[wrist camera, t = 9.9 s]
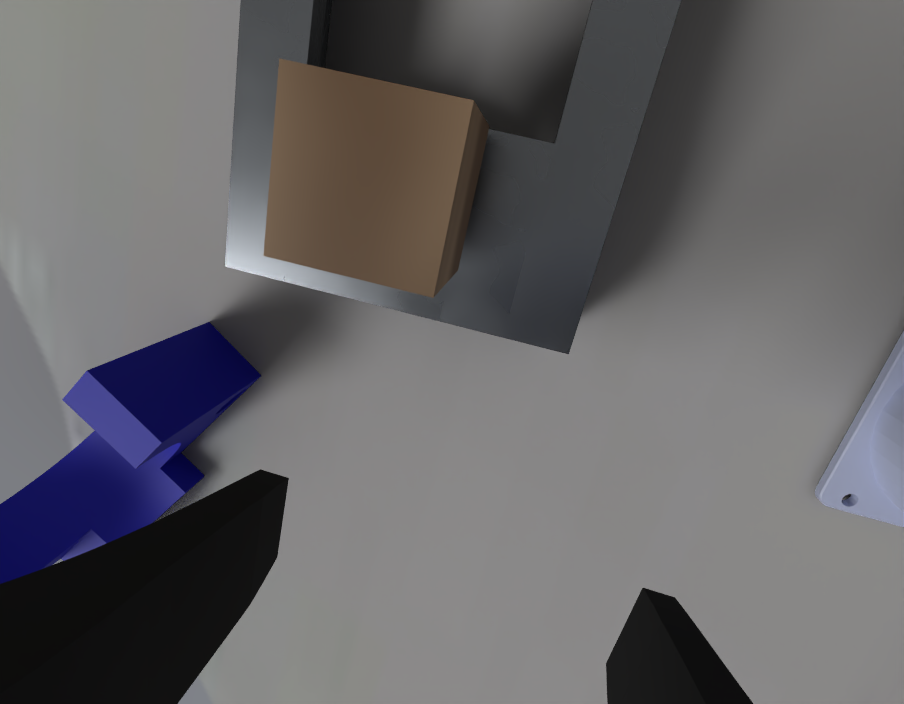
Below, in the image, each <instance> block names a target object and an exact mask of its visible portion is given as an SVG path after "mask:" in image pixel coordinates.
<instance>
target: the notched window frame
mask: <svg viewBox="0 0 904 704" xmlns="http://www.w3.org/2000/svg"><path fill="white" fill-rule="evenodd" d="M680 3H681V0H593V1H592V4H591V8H590V12H589V16H588V19H587V23H586V27H585V31H584V34H583V38H582V42H581V46H580V50H579V53H578V57H577V61H576V65H575V68H574V72H573V76H572V80H571V83H570V87H569V91H568V95H567V98H566V102H565V106H564V110H563V113H562V117H561V121H560V125H559V128H558V132H557V136H556V140H555V143H550V142H545V141H541V140H537V139H532V138H528V137H523V136H519V135H514V134H510V133H505V132H501V131H496V130H492V129H489V131H488V135H487V140H486V145H485V149H484V154H483V158H482V163H481V167H480V172H479V177H478V181H477V186H476V190H475V195H474V199H473V204H472V209H471V213H470V218H469V222H468V227H467V231H466V236H465V241H464V245H463V250H462V254H461V259H460V263H459V268H458V271H457V272H456V273H455V274H454V275H453V277H452V278H451V279H450V280H449V281H448V282H447V283H446V284H445V285H444V287H443V288H442V289H441V290H440V291H439V292H438V293H437V294H436V295H435V297H434V298H432V297H428V296H424V295H420V294H416V293H411V292H407V291H403V290H399V289H395V288H391V287H387V286H383V285H379V284H375V283H371V282H367V281H363V280H359V279H355V278H351V277H347V276H343V275H339V274H335V273H330V272H326V271H322V270H318V269H314V268H310V267H306V266H302V265H298V264H294V263H290V262H286V261H282V260H278V259H274V258H270V257H266V256H263V255H264V242H265V230H266V217H267V205H268V193H269V180H270V168H271V155H272V143H273V130H274V118H275V106H276V93H277V81H278V68H279V58H280V59H284V60H289V61H294V62H298V63H303V64H308V65H312V66H317V67H322V68H324V66H325V57H326V48H327V39H328V30H329V21H330V13H331V4H332V0H241V5H240V22H239V39H238V56H237V73H236V90H235V107H234V123H233V140H232V157H231V174H230V191H229V208H228V225H227V242H226V259H225V267H229V268H233V269H237V270H241V271H245V272H249V273H253V274H256V275H260V276H264V277H268V278H272V279H276V280H280V281H284V282H288V283H292V284H296V285H300V286H303V287H307V288H311V289H315V290H319V291H323V292H327V293H331V294H335V295H339V296H343V297H347V298H350V299H354V300H358V301H362V302H366V303H370V304H374V305H378V306H382V307H386V308H390V309H394V310H397V311H401V312H405V313H409V314H413V315H417V316H421V317H425V318H429V319H433V320H437V321H440V322H444V323H448V324H452V325H456V326H460V327H464V328H468V329H472V330H476V331H480V332H484V333H487V334H491V335H495V336H499V337H503V338H507V339H511V340H515V341H519V342H523V343H527V344H531V345H534V346H538V347H542V348H546V349H550V350H554V351H558V352H562V353H566V354H569V351H570V348H571V345H572V342H573V339H574V336H575V333H576V329H577V326H578V323H579V320H580V317H581V314H582V311H583V307H584V304H585V301H586V298H587V295H588V292H589V289H590V285H591V282H592V279H593V276H594V273H595V270H596V267H597V264H598V260H599V257H600V254H601V251H602V248H603V245H604V242H605V238H606V235H607V232H608V229H609V226H610V223H611V220H612V217H613V213H614V210H615V207H616V204H617V201H618V198H619V195H620V191H621V188H622V185H623V182H624V179H625V176H626V173H627V169H628V166H629V163H630V160H631V157H632V154H633V151H634V148H635V144H636V141H637V138H638V135H639V132H640V129H641V126H642V122H643V119H644V116H645V113H646V110H647V107H648V104H649V100H650V97H651V94H652V91H653V88H654V85H655V82H656V79H657V75H658V72H659V69H660V66H661V63H662V60H663V57H664V53H665V50H666V47H667V44H668V41H669V38H670V35H671V31H672V28H673V25H674V22H675V19H676V16H677V13H678V10H679V6H680Z"/></svg>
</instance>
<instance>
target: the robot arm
mask: <svg viewBox="0 0 904 704" xmlns="http://www.w3.org/2000/svg"><path fill="white" fill-rule="evenodd" d="M288 479H289V478H286V477H283V476H280V475H277V474H273V473H270V472H267V471H264V470H259V471H256V472H254V473H252V474H250V475H248V476H246V477H244V478H242V479H240V480H238V481H236V482H234V483H232V484H230V485H228V486H226V487H224V488H223V489H221V490H219V491H217V492H215V493H213V494H211V495H209V496H207V497H205V498H203V499H201V500H199V501H197V502H195V503H193V504H191V505H189V506H187V507H185V508H183V509H181V510H179V511H176V512H174V513H172V514H170V515H168V516H166V517H164V518H162V519H160V520H158V521H156V522H154V523H151V524H149V525H147V526H145V527H142V528H140V529H138V530H136V531H133V532H131V533H129V534H127V535H124V536H122V537H120V538H117V539H115V540H113V541H111V542H108V543H106V544H104V545H102V546H99V547H97V548H95V549H92V550H90V551H87V552H85V553H82V554H80V555H78V556H75V557H72V558H70V559H67V560H65V561H62V562H60V563H57V564H54V565H52V566H49V567H46V568H43V569H41V570H38V571H35V572H32V573H30V574H27V575H24V576H21V577H19V578H16V579H13V580H10V581H7V582H4V583H1V584H0V704H178V702H179V701H180V699H181V698H182V697H183V695H184V694H185V693H186V691H187V690H188V689H189V687H190V686H191V684H192V683H193V682H194V681H195V679H196V678H197V676H198V675H199V674H200V672H201V671H202V670H203V668H204V667H205V666H206V664H207V663H208V662H209V660H210V659H211V657H212V656H213V655H214V653H215V652H216V651H217V649H218V648H219V647H220V645H221V644H222V643H223V641H224V640H225V638H226V637H227V636H228V634H229V633H230V632H231V630H232V629H233V627H234V626H235V625H236V623H237V622H238V621H239V619H240V618H241V616H242V615H243V614H244V612H245V611H246V609H247V608H248V607H249V605H250V604H251V602H252V600H253V599H254V597H255V595H256V593H257V592H258V590H259V588H260V587H261V585H262V583H263V582H264V580H265V578H266V576H267V574H268V573H269V571H270V569H271V567H272V566H273V564H274V562H275V560H276V558H277V555H278V548H279V541H280V534H281V527H282V520H283V514H284V507H285V500H286V493H287V486H288ZM848 494H851V496H850V497H849V498H848V499H846V500H842V498H843V497H844V496H845V495H848ZM815 495H816V497H817V498H818V499H819V500H820V501H821V503H822V504H823V505H825V506H827V507H830V508H834V509H838V510H842V511H845V512H849V513H853V514H856V515H860V516H864V517H868V518H871V519H875V520H879V521H883V522H886V523H890V524H894V525H897V526H901V527H904V331H903V333H902V334H901V336H900V338H899V340H898V342H897V343H896V345H895V347H894V349H893V351H892V352H891V354H890V356H889V358H888V359H887V361H886V363H885V365H884V367H883V368H882V370H881V372H880V374H879V376H878V377H877V379H876V381H875V383H874V385H873V386H872V388H871V390H870V392H869V393H868V395H867V397H866V399H865V401H864V402H863V404H862V406H861V408H860V410H859V411H858V413H857V415H856V417H855V419H854V420H853V422H852V424H851V426H850V427H849V429H848V431H847V433H846V435H845V436H844V438H843V440H842V442H841V444H840V445H839V447H838V449H837V451H836V453H835V454H834V456H833V458H832V460H831V461H830V463H829V465H828V467H827V469H826V470H825V472H824V474H823V476H822V478H821V479H820V481H819V483H818V485H817V487H816V489H815ZM606 672H607V699H608V704H753V703H752V701H751V700H750V699H749V697H748V696H747V695H746V693H745V692H744V691H743V689H742V688H741V687H740V685H739V684H738V682H737V681H736V680H735V678H734V677H733V676H732V674H731V673H730V672H729V670H728V669H727V667H726V666H725V665H724V663H723V662H722V661H721V659H720V658H719V656H718V655H717V654H716V652H715V651H714V650H713V648H712V647H711V645H710V644H709V643H708V641H707V640H706V639H705V637H704V636H703V634H702V633H701V632H700V630H699V629H698V628H697V626H696V625H695V623H694V622H693V621H692V619H691V618H690V617H689V615H688V614H687V613H686V611H685V610H684V609H683V607H682V606H681V605H680V604H679V602H678V601H677V600H676V599H675V597H671V596H668V595H665V594H662V593H658V592H655V591H652V590H649V589H645V588H642V590H641V592H640V595H639V597H638V599H637V601H636V603H635V605H634V607H633V609H632V611H631V613H630V615H629V617H628V619H627V621H626V623H625V626H624V628H623V630H622V632H621V634H620V636H619V638H618V640H617V642H616V644H615V646H614V648H613V650H612V652H611V654H610V656H609V659H608V661H607V663H606Z"/></svg>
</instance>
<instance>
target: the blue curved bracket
mask: <svg viewBox="0 0 904 704" xmlns="http://www.w3.org/2000/svg"><path fill="white" fill-rule="evenodd" d="M260 376H261V375H260V374H259V373H258V372H257V371H256V370H255V369H254V368H253V367H252V365H251V364H250V363H249V362H248V361H247V360H246V359H245V358H244V357H243V356H242V355H241V354H240V353H239V352H238V351H237V350H236V349H235V348H234V347H233V346H232V345H231V344H230V343H229V342H228V341H227V340H226V339H225V338H224V337H223V336H222V335H221V334H220V333H219V332H218V331H217V330H216V329H215V328H214V326H213V325H212V324H211V323H210V322H208V323H205V324H203V325H200V326H198V327H195V328H193V329H190V330H188V331H185V332H183V333H180V334H178V335H175V336H173V337H170V338H168V339H165V340H163V341H160V342H158V343H155V344H153V345H150V346H148V347H145V348H143V349H140V350H138V351H135V352H133V353H130V354H128V355H125V356H123V357H120V358H118V359H115V360H113V361H110V362H107V363H105V364H102V365H100V366H97V367H95V368H92V369H90V370H87V371H86V372H85V374H84V375H83V376H82V377H81V378H80V379H79V381H78V382H77V383H76V384H75V385H74V386H73V388H72V389H71V390H70V391H69V392H68V394H67V395H66V396H65V397H64V398H63V399H62V400H63V401H64V402H65V403H66V404H67V405H69V406H70V407H71V408H72V409H73V410H74V411H75V412H76V413H77V414H78V415H79V416H80V417H81V418H82V419H83V420H84V421H85V422H87V423H88V424H89V425H90V426H91V427H92V428H93V429H94V430H95V431H94V432H93V433H92V434H91V435H90V436H88V437H87V438H86V439H85V440H84V441H83V442H82V443H81V444H79V445H78V446H77V447H76V448H75V449H74V450H72V451H71V452H70V453H69V454H68V455H66V456H65V457H64V458H63V459H61V460H60V461H59V462H58V463H56V464H55V465H54V466H53V467H51V468H50V469H49V470H47V471H46V472H45V473H43V474H42V475H41V476H39V477H38V478H37V479H35V480H34V481H33V482H31V483H30V484H29V485H27V486H26V487H24V488H23V489H22V490H20V491H19V492H17V493H16V494H15V495H13V496H12V497H10V498H9V499H7V500H6V501H4V502H3V503H1V504H0V584H1V583H4V582H7V581H10V580H13V579H16V578H19V577H21V576H24V575H27V574H30V573H32V572H35V571H38V570H41V569H43V568H46V567H49V566H52V565H53V564H54V563H55V562H57V561H58V560H59V559H62V560H63V561H65V560H67V559H70V558H72V557H75V556H78V555H80V554H82V553H85V552H87V551H90V550H92V549H95V548H97V547H99V546H102V545H104V544H106V543H108V542H111V541H113V540H115V539H117V538H120V537H122V536H124V535H127V534H129V533H131V532H133V531H136V530H138V529H140V528H142V527H145V526H147V525H149V524H151V523H153V522H155V521H156V520H157V519H158V518H159V517H160V516H161V515H162V514H163V513H164V512H166V511H167V510H168V509H169V508H170V507H171V506H172V505H173V504H174V503H176V502H177V501H178V500H179V499H180V498H181V497H182V496H183V495H184V494H185V493H187V492H188V491H189V490H190V489H191V488H192V487H193V486H194V485H195V484H196V483H198V482H199V481H200V480H201V479H202V478H203V477H204V475H203V474H202V473H201V472H200V471H199V470H198V469H197V468H196V467H195V466H194V465H193V464H192V463H191V462H190V461H189V460H188V459H187V458H186V457H185V456H184V455H183V454H182V453H181V452H182V451H183V450H184V449H185V448H186V447H187V446H188V445H189V444H191V443H192V442H193V441H194V440H195V439H196V438H197V437H198V436H199V435H200V434H201V433H202V432H203V431H204V430H205V429H206V428H207V427H208V426H209V425H210V424H211V423H212V422H214V421H215V420H216V419H217V418H218V417H219V416H220V415H221V414H222V413H223V412H224V411H225V410H226V409H227V408H228V407H229V406H230V405H231V404H232V403H233V402H234V401H235V400H236V399H238V398H239V397H240V396H241V395H242V394H243V393H244V392H245V391H246V390H247V389H248V388H249V387H250V386H251V385H252V384H253V383H254V382H255V381H256V380H257V379H258V378H259V377H260Z"/></svg>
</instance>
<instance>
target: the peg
mask: <svg viewBox="0 0 904 704" xmlns="http://www.w3.org/2000/svg"><path fill="white" fill-rule="evenodd" d="M488 131H489V125H488V123H487V121H486V120H485V118H484V116H483V115H482V113H481V111H480V110H479V108H478V106H477V105H476V103H475V101H474V100H470V99H465V98H461V97H456V96H451V95H447V94H442V93H437V92H433V91H428V90H424V89H419V88H414V87H410V86H405V85H400V84H396V83H391V82H386V81H382V80H377V79H373V78H368V77H363V76H359V75H354V74H349V73H345V72H340V71H335V70H331V69H326V68H322V67H317V66H312V65H308V64H303V63H298V62H294V61H289V60H284V59H280V58H279V68H278V81H277V93H276V106H275V118H274V130H273V143H272V155H271V168H270V180H269V193H268V205H267V217H266V230H265V242H264V255H263V256H266V257H270V258H274V259H278V260H282V261H286V262H290V263H294V264H298V265H302V266H306V267H310V268H314V269H318V270H322V271H326V272H330V273H335V274H339V275H343V276H347V277H351V278H355V279H359V280H363V281H367V282H371V283H375V284H379V285H383V286H387V287H391V288H395V289H399V290H403V291H407V292H411V293H416V294H420V295H424V296H428V297H432V298H434V297H435V295H436V294H437V293H438V292H439V291H440V290H441V289H442V288H443V287H444V285H445V284H446V283H447V282H448V281H449V280H450V279H451V278H452V277H453V275H454V274H455V273H456V272H457V271H458V268H459V263H460V259H461V254H462V250H463V245H464V241H465V236H466V231H467V227H468V222H469V218H470V213H471V209H472V204H473V199H474V195H475V190H476V186H477V181H478V177H479V172H480V167H481V163H482V158H483V154H484V149H485V145H486V140H487V135H488Z"/></svg>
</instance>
